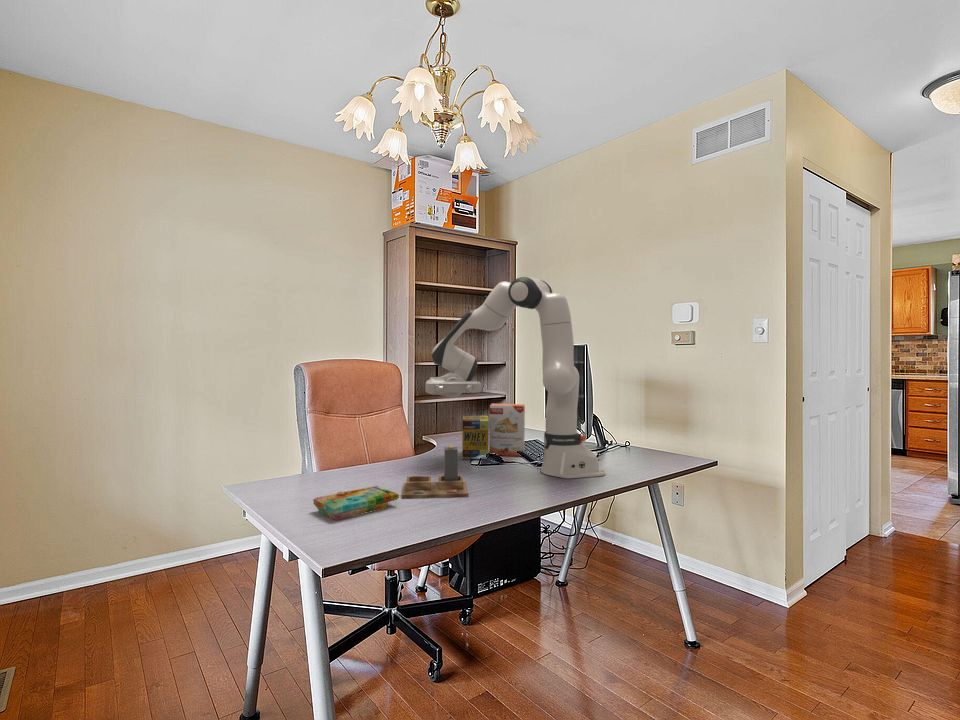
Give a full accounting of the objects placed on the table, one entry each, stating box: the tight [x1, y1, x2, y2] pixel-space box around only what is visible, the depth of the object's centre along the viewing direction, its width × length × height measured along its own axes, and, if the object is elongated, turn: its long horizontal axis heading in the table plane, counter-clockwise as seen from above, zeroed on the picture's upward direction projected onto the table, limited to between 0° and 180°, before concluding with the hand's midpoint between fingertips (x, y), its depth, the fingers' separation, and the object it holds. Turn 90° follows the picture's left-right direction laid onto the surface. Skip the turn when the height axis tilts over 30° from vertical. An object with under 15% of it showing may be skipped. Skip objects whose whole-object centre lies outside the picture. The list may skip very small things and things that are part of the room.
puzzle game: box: [312, 485, 400, 521], centre depth 149 cm, size 12×5×20 cm
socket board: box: [400, 474, 470, 499], centre depth 167 cm, size 20×14×4 cm
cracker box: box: [488, 403, 526, 458], centre depth 219 cm, size 14×6×21 cm, turn 81°
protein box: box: [461, 414, 490, 460], centre depth 218 cm, size 10×15×16 cm
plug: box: [443, 444, 459, 481], centre depth 169 cm, size 4×4×13 cm
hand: (454, 389), depth 188 cm, fingers open, 8 cm apart
